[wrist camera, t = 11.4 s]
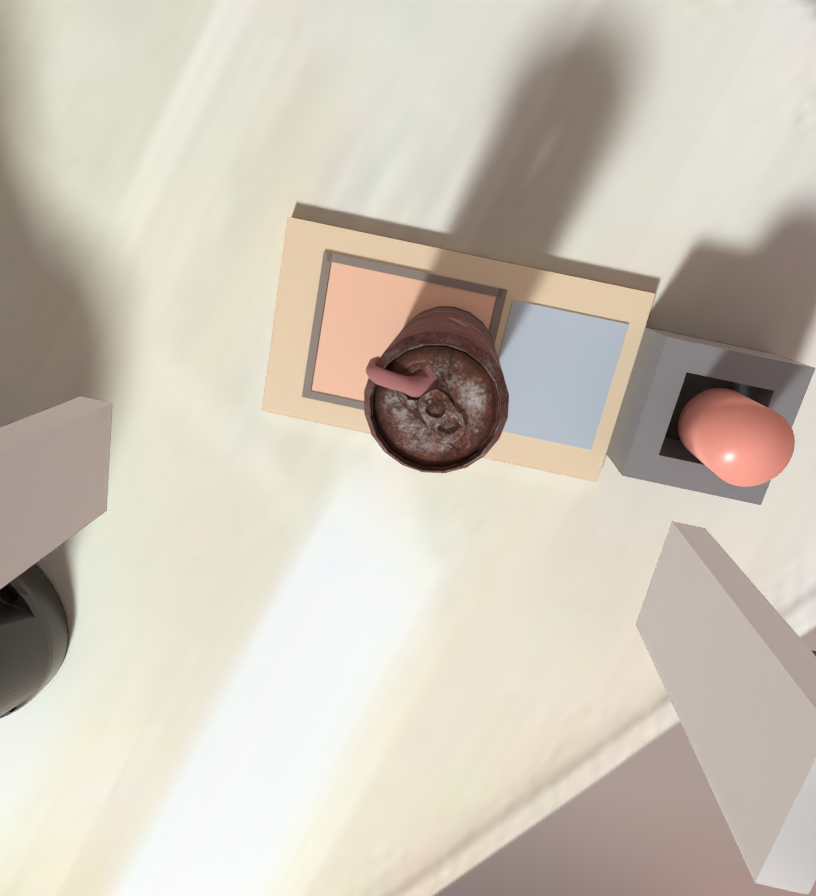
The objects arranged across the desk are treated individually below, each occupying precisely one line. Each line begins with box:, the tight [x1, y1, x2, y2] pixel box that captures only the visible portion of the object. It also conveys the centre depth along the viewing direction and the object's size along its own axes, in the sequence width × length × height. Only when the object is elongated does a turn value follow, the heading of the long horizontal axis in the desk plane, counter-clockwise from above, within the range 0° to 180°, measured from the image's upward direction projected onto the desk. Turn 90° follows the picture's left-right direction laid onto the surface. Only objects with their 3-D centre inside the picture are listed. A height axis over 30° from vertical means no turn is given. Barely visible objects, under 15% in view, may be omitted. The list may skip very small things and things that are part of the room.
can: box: [364, 306, 509, 473], centre depth 33 cm, size 6×6×14 cm
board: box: [262, 217, 655, 482], centre depth 40 cm, size 22×12×1 cm, turn 79°
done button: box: [678, 388, 795, 487], centre depth 33 cm, size 4×4×4 cm
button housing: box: [606, 327, 815, 505], centre depth 38 cm, size 8×8×5 cm
